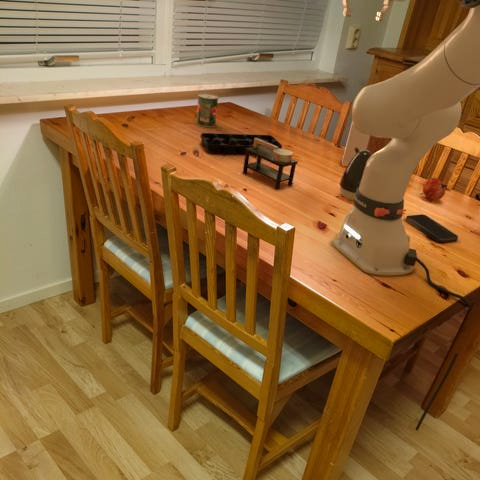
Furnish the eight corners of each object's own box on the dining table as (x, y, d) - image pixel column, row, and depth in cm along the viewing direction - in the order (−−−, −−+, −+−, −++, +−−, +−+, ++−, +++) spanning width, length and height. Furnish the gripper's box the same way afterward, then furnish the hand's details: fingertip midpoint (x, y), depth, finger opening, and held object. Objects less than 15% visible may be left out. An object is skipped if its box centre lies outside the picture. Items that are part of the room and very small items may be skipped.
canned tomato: (194, 121, 199) (196, 92, 193) (212, 122, 202) (215, 93, 195) (198, 127, 194) (200, 97, 187) (217, 127, 196) (220, 99, 189)
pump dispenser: (357, 191, 159) (370, 144, 150) (374, 204, 152) (389, 156, 143) (330, 191, 156) (342, 144, 147) (347, 205, 148) (361, 156, 139)
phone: (439, 239, 134) (405, 215, 144) (438, 243, 135) (403, 219, 145) (460, 237, 137) (424, 214, 147) (458, 240, 138) (423, 217, 148)
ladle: (295, 161, 151) (296, 151, 149) (282, 164, 147) (284, 154, 145) (260, 146, 158) (261, 136, 156) (247, 148, 154) (249, 139, 153)
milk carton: (360, 169, 177) (375, 115, 166) (341, 166, 178) (355, 112, 166) (360, 163, 183) (375, 111, 171) (342, 160, 183) (355, 107, 172)
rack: (292, 185, 156) (297, 161, 151) (277, 190, 151) (282, 165, 146) (257, 168, 164) (260, 145, 159) (241, 172, 159) (244, 148, 154)
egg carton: (286, 155, 179) (288, 145, 177) (215, 160, 165) (216, 149, 163) (262, 140, 191) (263, 130, 188) (193, 143, 177) (194, 132, 174)
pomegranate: (413, 203, 163) (437, 196, 154) (412, 182, 163) (436, 173, 154) (429, 204, 166) (453, 197, 157) (428, 183, 166) (452, 175, 157)
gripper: (346, -57, 109) (331, 15, 117) (422, -43, 115) (403, 24, 123) (334, -57, 114) (321, 11, 122) (409, -44, 119) (391, 21, 128)
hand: (363, 18), depth 122 cm, fingers open, 8 cm apart
